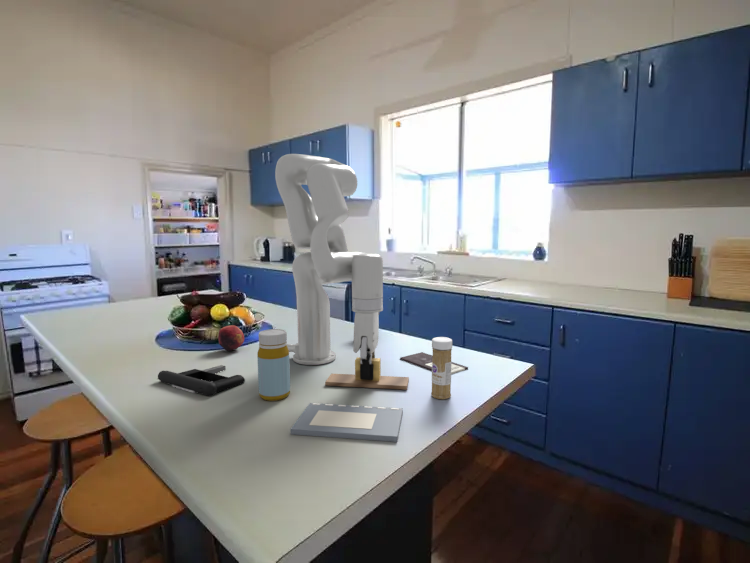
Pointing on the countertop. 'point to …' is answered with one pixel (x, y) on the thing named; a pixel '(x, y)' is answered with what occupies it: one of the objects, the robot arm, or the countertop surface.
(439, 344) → the sprinkles bottle
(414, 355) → the chocolate bar
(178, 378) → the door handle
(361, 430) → the ticket
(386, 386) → the stub
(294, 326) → the countertop surface
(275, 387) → the bottle
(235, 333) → the fruit
